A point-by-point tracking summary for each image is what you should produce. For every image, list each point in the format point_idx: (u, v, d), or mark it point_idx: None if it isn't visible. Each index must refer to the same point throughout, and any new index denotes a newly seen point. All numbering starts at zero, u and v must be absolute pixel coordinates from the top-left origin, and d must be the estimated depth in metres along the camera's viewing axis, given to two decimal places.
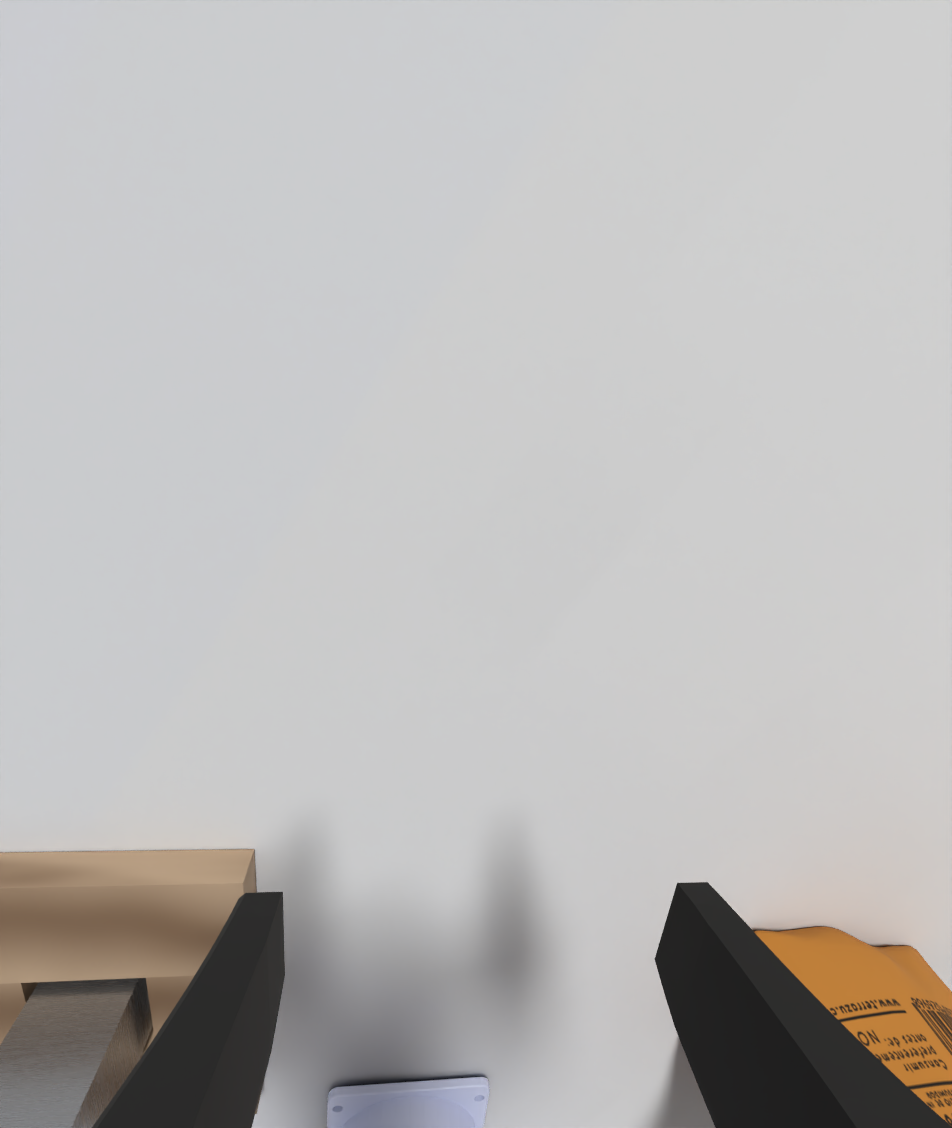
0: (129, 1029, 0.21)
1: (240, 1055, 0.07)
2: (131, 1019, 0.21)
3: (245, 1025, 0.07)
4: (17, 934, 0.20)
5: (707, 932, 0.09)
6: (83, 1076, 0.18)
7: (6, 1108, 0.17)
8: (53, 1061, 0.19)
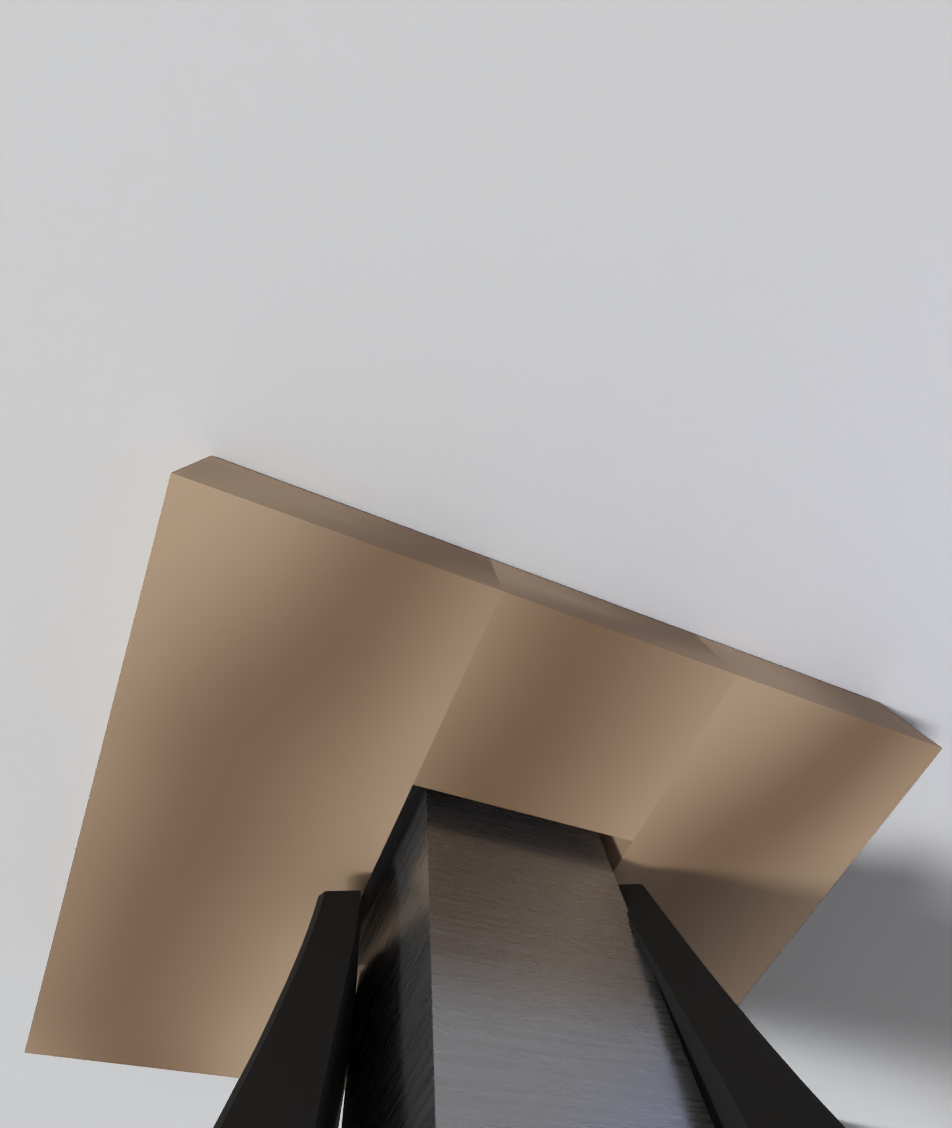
0: (502, 861, 0.09)
1: (338, 1049, 0.07)
2: (485, 847, 0.09)
3: (342, 1020, 0.07)
4: (200, 925, 0.10)
5: None
6: (421, 1004, 0.07)
7: None
8: (391, 1021, 0.08)
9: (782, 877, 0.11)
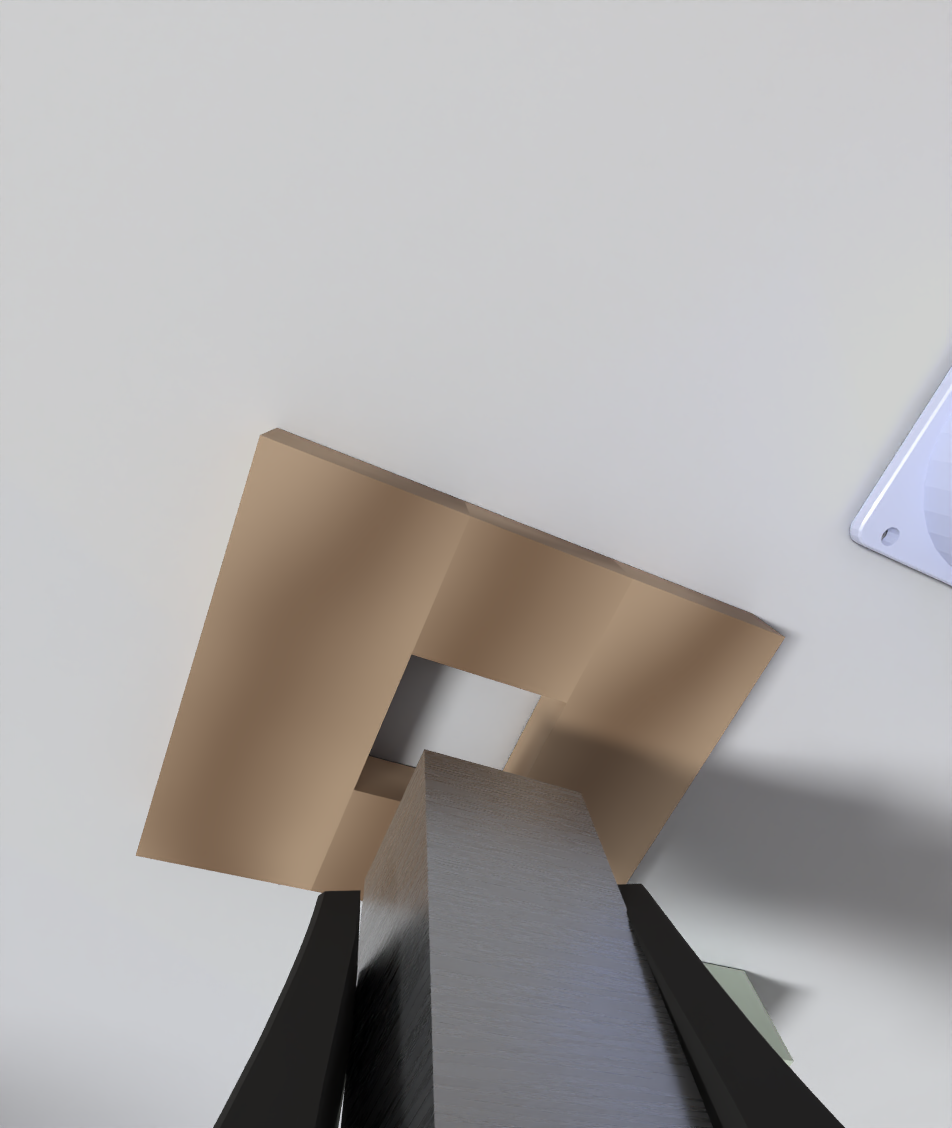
0: (501, 860, 0.09)
1: (338, 1049, 0.07)
2: (484, 846, 0.09)
3: (342, 1020, 0.07)
4: (263, 757, 0.14)
5: None
6: (421, 1003, 0.07)
7: None
8: (389, 1021, 0.08)
9: (677, 736, 0.15)
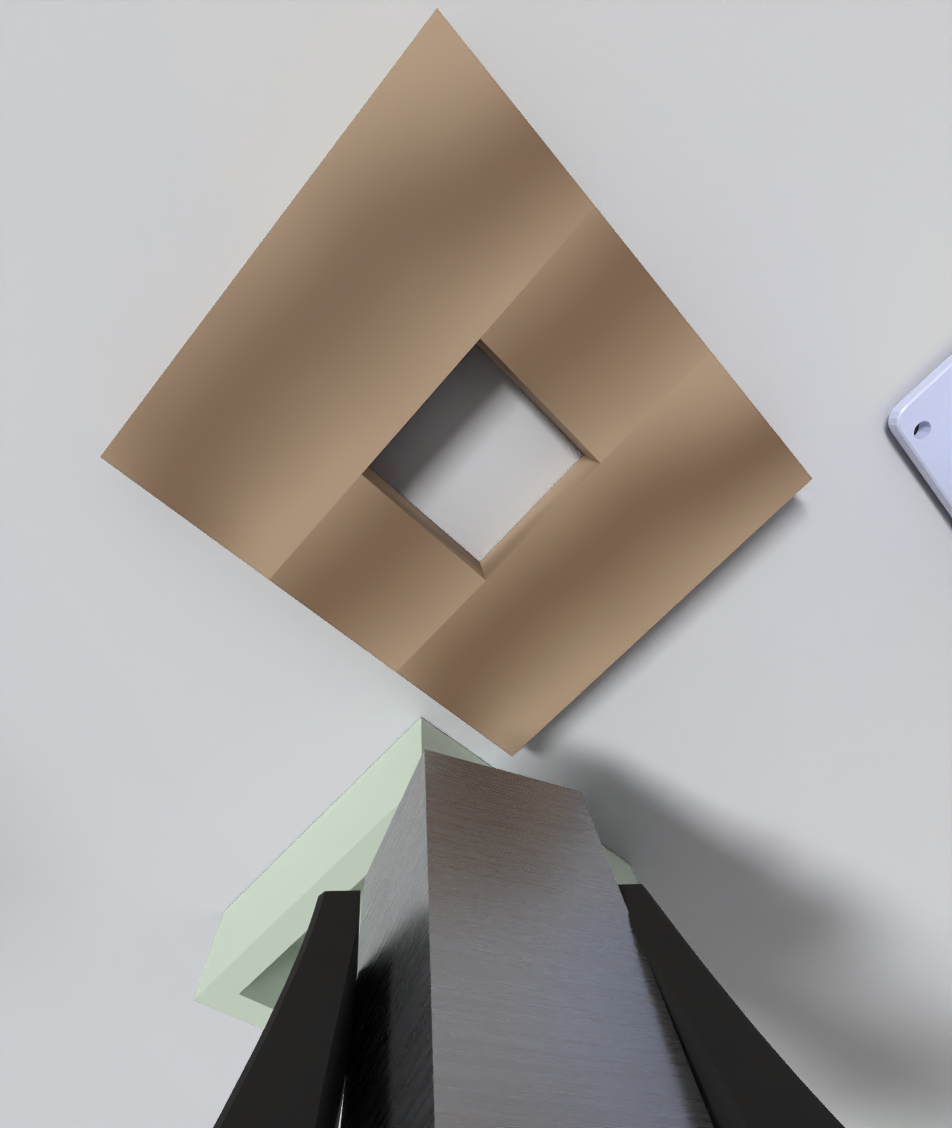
0: (501, 860, 0.09)
1: (338, 1049, 0.07)
2: (484, 846, 0.09)
3: (342, 1020, 0.07)
4: (285, 394, 0.13)
5: None
6: (420, 1003, 0.07)
7: None
8: (389, 1021, 0.08)
9: (683, 546, 0.15)
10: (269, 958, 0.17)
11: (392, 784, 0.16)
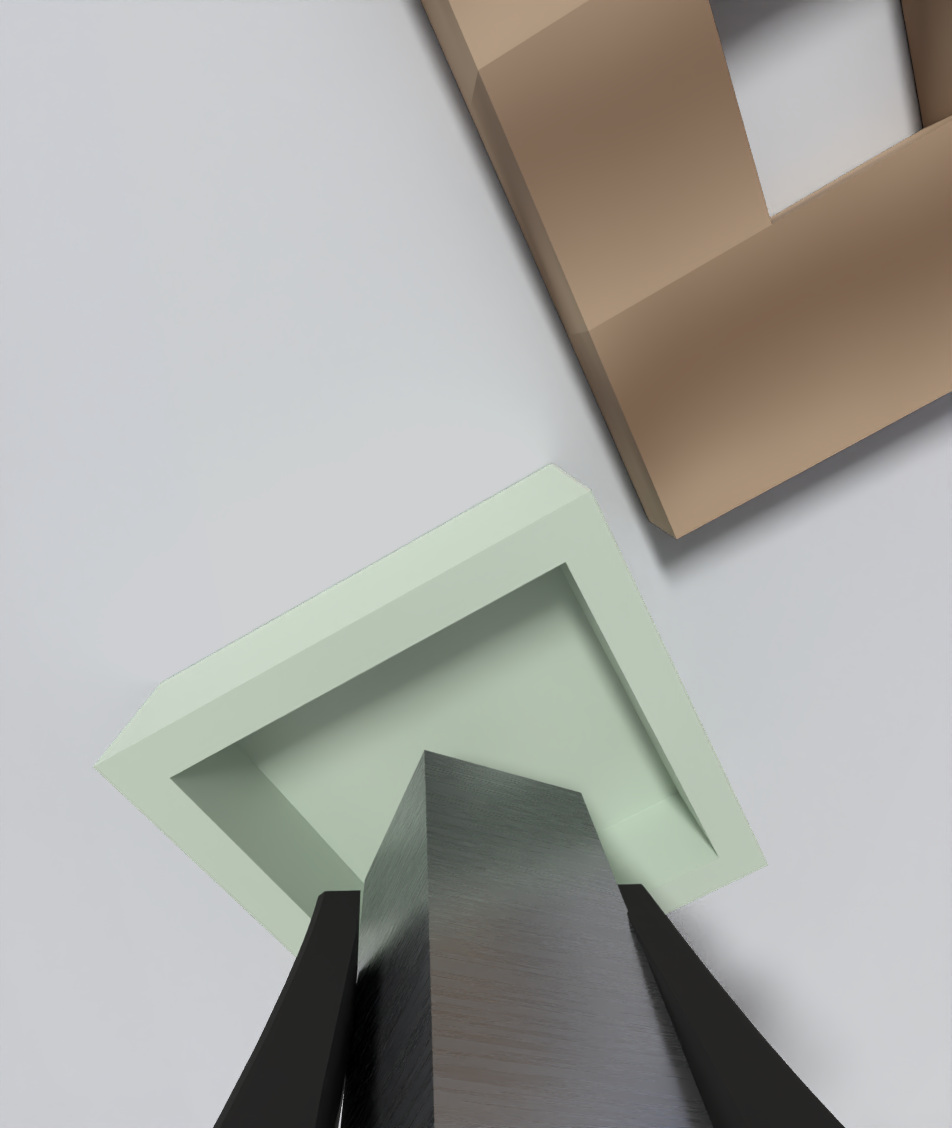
0: (501, 861, 0.09)
1: (338, 1049, 0.07)
2: (485, 847, 0.09)
3: (342, 1020, 0.07)
4: None
5: None
6: (420, 1005, 0.07)
7: None
8: (389, 1022, 0.08)
9: None
10: (241, 729, 0.11)
11: (516, 512, 0.11)
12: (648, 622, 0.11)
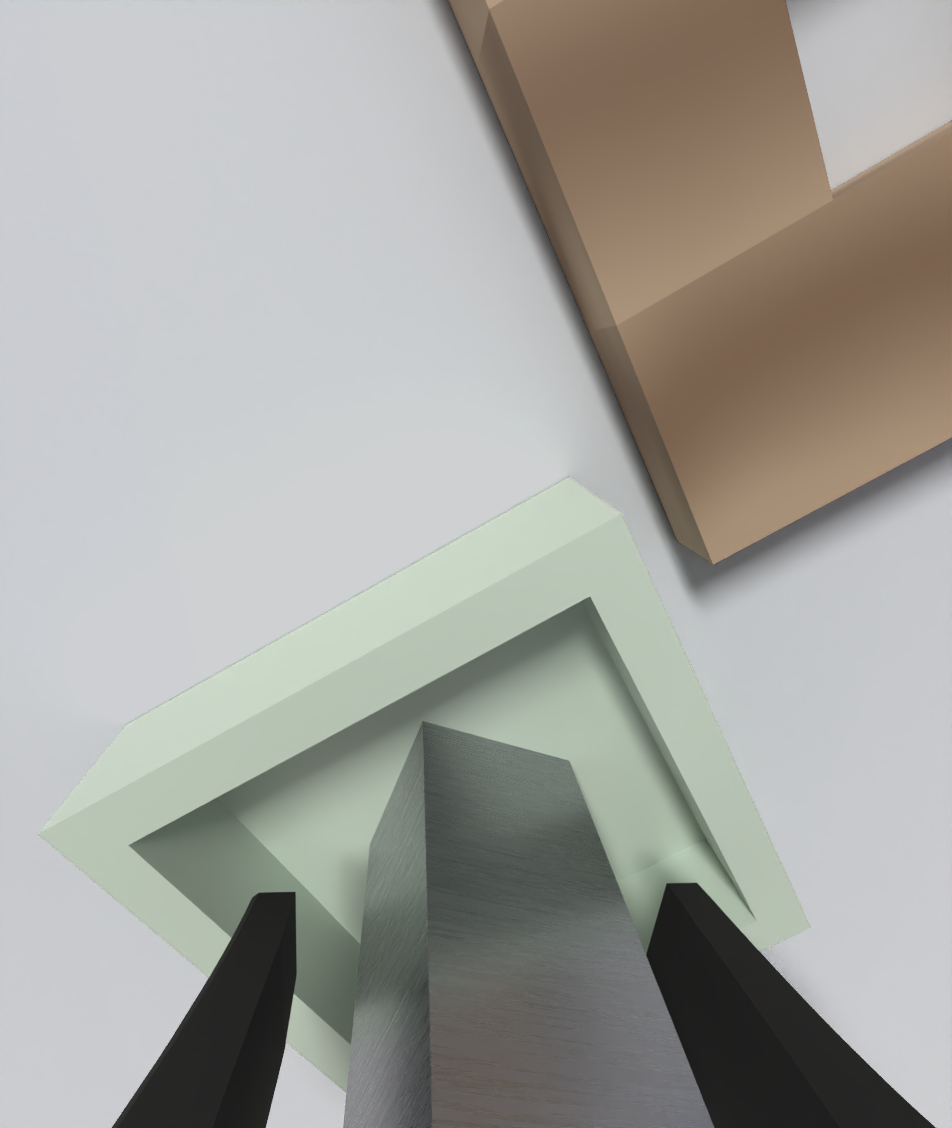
0: (492, 816, 0.10)
1: (256, 1054, 0.07)
2: (478, 804, 0.10)
3: (261, 1025, 0.07)
4: None
5: (695, 932, 0.09)
6: (418, 930, 0.08)
7: (373, 1075, 0.08)
8: (392, 954, 0.08)
9: None
10: (211, 789, 0.09)
11: (531, 536, 0.09)
12: (684, 663, 0.09)
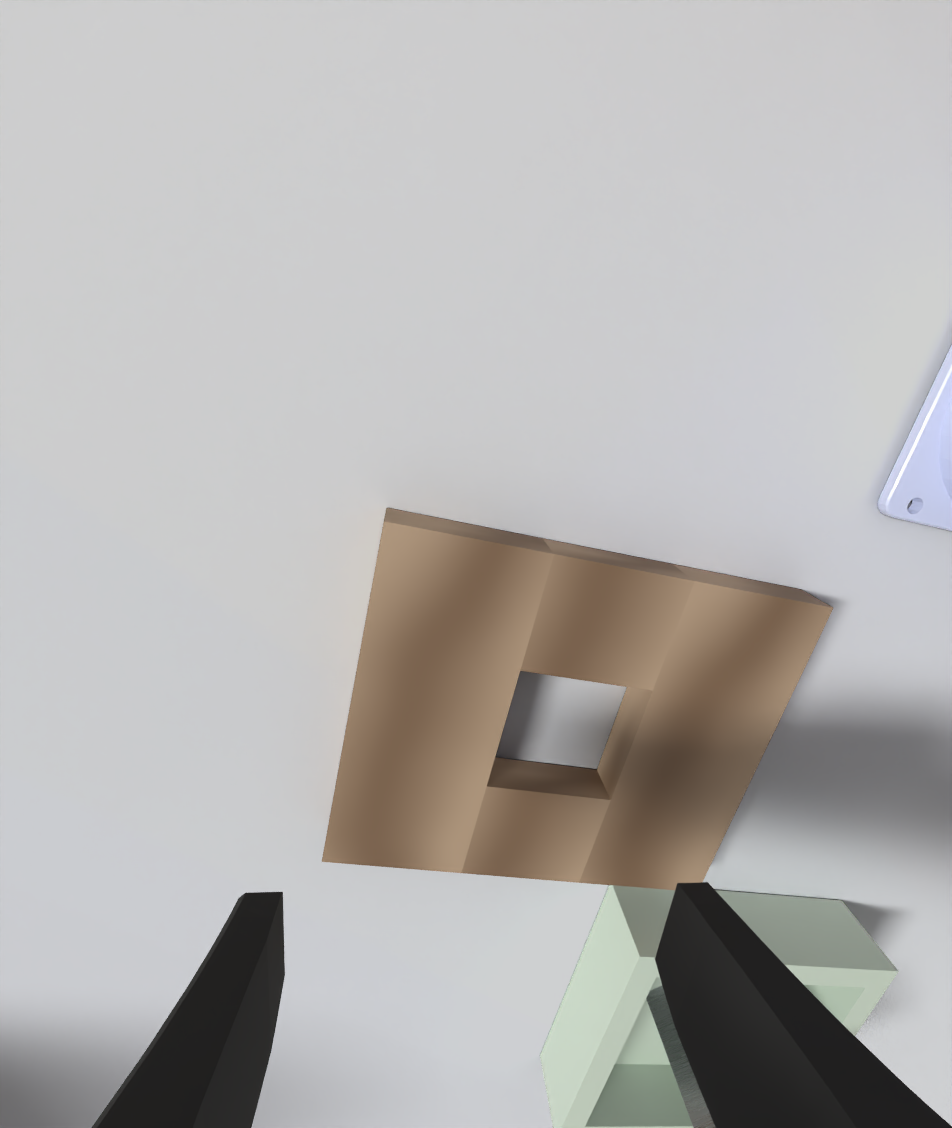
0: None
1: (240, 1055, 0.07)
2: None
3: (245, 1025, 0.07)
4: (412, 770, 0.17)
5: (707, 932, 0.09)
6: None
7: None
8: None
9: (751, 704, 0.18)
10: (593, 1098, 0.22)
11: (618, 953, 0.20)
12: None
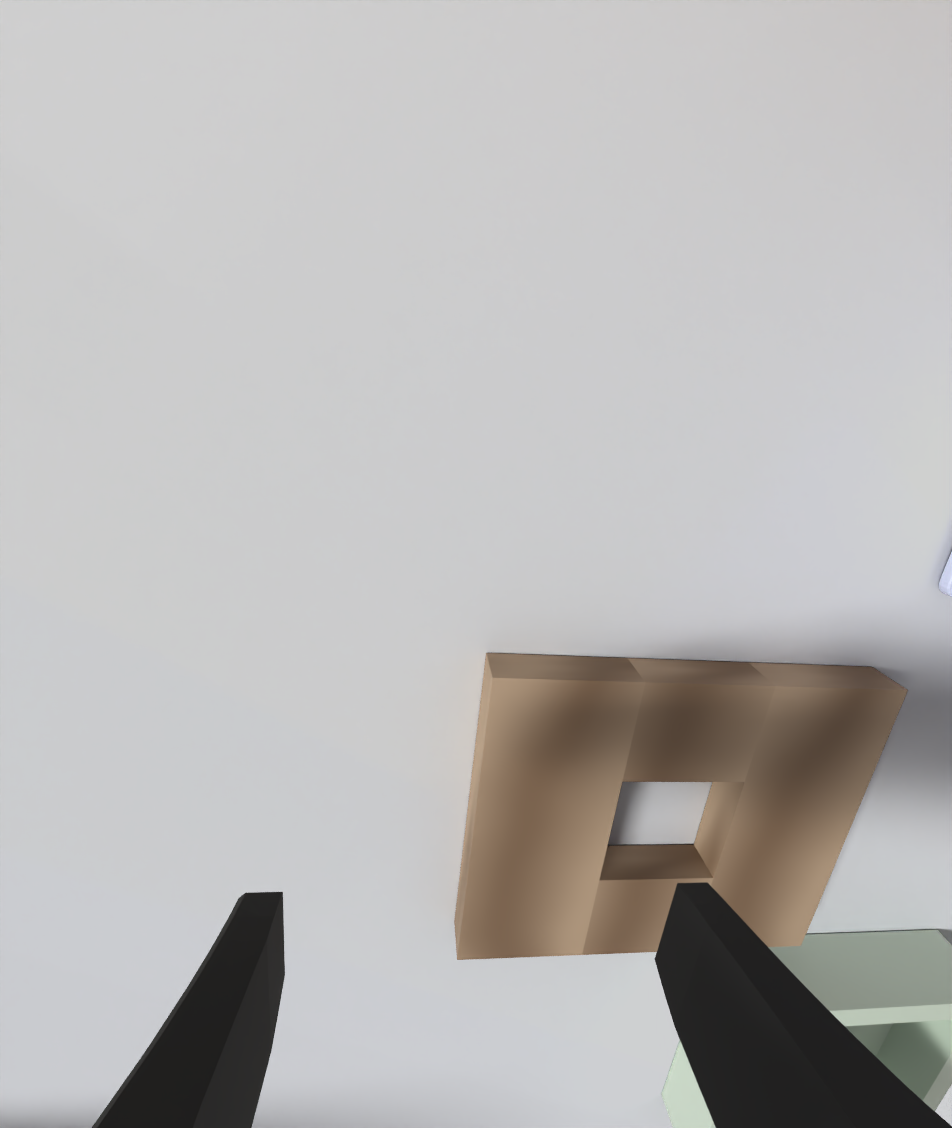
0: None
1: (240, 1055, 0.07)
2: None
3: (245, 1025, 0.07)
4: (532, 875, 0.19)
5: (707, 932, 0.09)
6: None
7: None
8: None
9: (838, 781, 0.19)
10: None
11: None
12: None
